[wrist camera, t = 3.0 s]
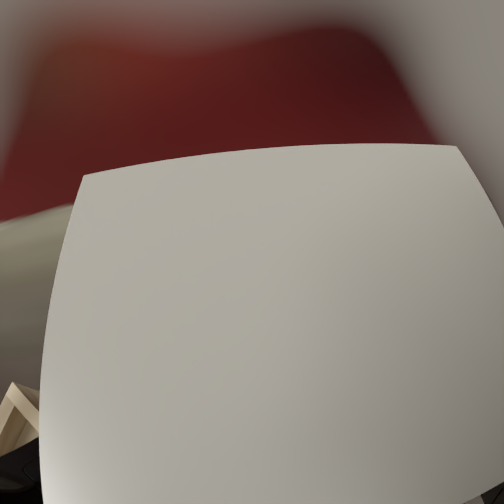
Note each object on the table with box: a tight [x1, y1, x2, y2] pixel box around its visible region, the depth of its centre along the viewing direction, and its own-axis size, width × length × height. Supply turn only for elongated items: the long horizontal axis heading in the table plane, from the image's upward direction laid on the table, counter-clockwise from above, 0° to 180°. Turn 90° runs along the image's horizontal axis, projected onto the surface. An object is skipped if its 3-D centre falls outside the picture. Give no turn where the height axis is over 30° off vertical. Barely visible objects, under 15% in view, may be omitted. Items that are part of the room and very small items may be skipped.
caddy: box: [39, 144, 504, 504], centre depth 10 cm, size 6×7×14 cm
